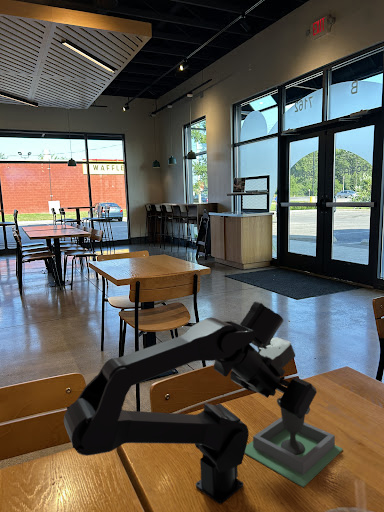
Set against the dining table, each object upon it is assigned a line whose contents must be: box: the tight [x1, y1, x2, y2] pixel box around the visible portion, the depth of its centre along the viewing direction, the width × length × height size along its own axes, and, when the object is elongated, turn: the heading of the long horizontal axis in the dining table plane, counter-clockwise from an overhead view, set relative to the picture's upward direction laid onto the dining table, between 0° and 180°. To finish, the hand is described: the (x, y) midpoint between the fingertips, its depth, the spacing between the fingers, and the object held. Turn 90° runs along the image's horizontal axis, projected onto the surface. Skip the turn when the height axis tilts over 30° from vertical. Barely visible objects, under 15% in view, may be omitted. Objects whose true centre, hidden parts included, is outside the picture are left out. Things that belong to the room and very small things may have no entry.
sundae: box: [276, 375, 311, 455], centre depth 79 cm, size 7×7×15 cm
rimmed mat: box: [244, 416, 344, 488], centre depth 79 cm, size 15×15×3 cm
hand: (290, 402), depth 78 cm, fingers open, 9 cm apart
